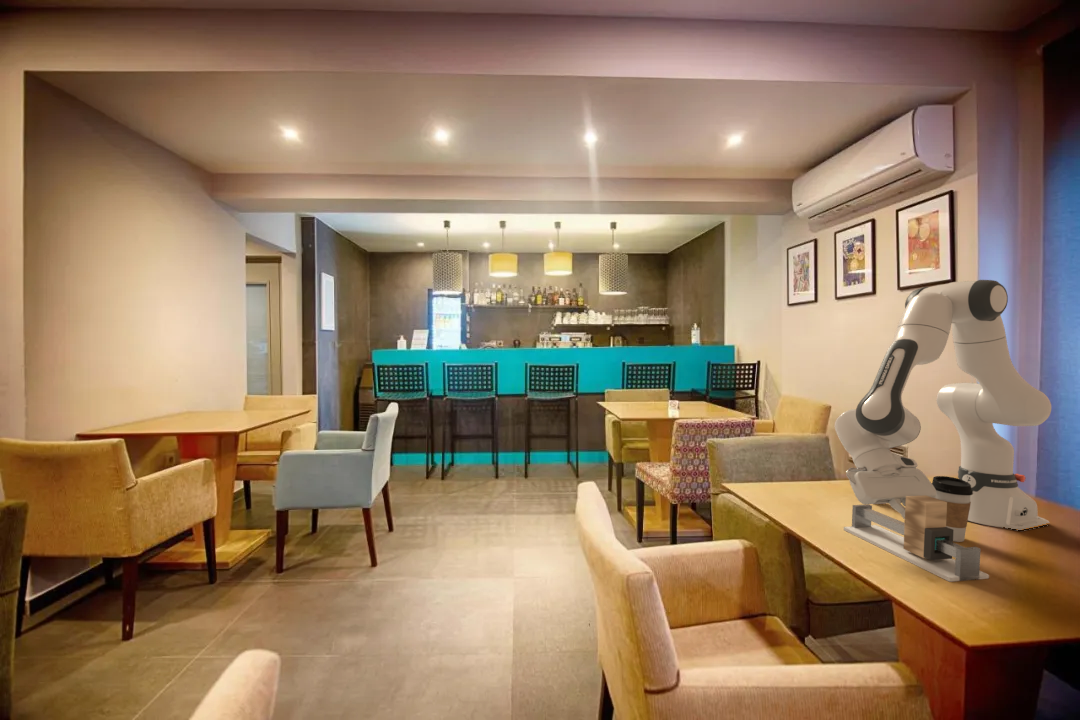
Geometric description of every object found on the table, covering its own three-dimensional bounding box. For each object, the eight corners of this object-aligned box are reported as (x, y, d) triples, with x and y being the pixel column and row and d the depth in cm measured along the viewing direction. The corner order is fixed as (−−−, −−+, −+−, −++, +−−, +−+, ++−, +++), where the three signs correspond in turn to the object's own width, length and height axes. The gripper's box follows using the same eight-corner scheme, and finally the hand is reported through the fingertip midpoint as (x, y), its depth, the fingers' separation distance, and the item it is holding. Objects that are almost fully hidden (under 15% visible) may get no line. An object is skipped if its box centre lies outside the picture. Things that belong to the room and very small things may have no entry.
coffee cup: (960, 533, 126) (963, 477, 126) (977, 546, 118) (980, 486, 118) (922, 529, 129) (924, 474, 129) (936, 541, 121) (939, 482, 121)
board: (843, 529, 128) (843, 526, 128) (875, 527, 129) (875, 525, 129) (949, 581, 100) (949, 577, 100) (988, 578, 102) (989, 574, 102)
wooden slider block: (903, 548, 113) (905, 496, 112) (923, 547, 114) (925, 495, 113) (923, 558, 108) (926, 503, 107) (944, 556, 109) (947, 502, 108)
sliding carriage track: (851, 529, 128) (852, 505, 128) (867, 528, 129) (868, 504, 129) (959, 580, 100) (960, 550, 100) (979, 579, 101) (980, 548, 101)
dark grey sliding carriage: (923, 556, 108) (924, 528, 108) (945, 555, 109) (946, 527, 108) (930, 560, 106) (931, 531, 106) (952, 558, 107) (953, 529, 107)
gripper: (850, 461, 119) (883, 514, 110) (920, 459, 122) (957, 510, 113) (835, 474, 123) (866, 526, 114) (903, 472, 127) (938, 522, 118)
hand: (912, 518), depth 114 cm, fingers closed, pressing on wooden slider block
